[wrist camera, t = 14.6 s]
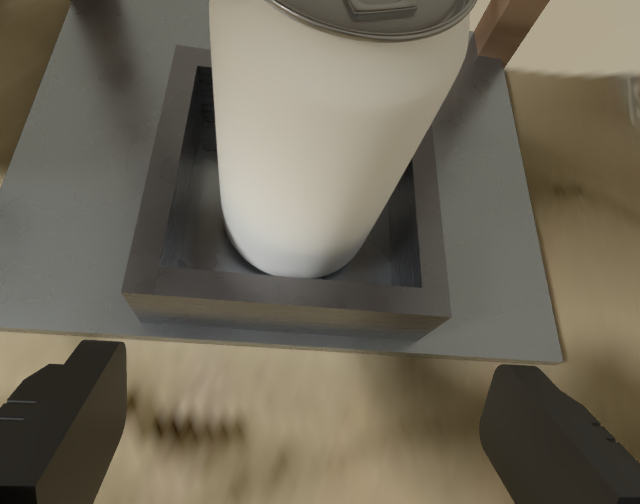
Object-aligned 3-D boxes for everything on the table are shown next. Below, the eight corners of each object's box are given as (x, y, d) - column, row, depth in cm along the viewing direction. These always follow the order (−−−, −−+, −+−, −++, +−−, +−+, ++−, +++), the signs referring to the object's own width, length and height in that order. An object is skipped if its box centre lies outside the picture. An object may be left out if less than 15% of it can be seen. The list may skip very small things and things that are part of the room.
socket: (554, 365, 20) (623, 343, 17) (-43, 328, 17) (-117, 291, 13) (492, 43, 29) (528, -17, 25) (88, -23, 25) (64, -103, 22)
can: (338, 146, 22) (430, -144, 12) (387, 264, 20) (555, 35, 9) (206, 170, 21) (172, -146, 10) (243, 301, 18) (250, 74, 8)
